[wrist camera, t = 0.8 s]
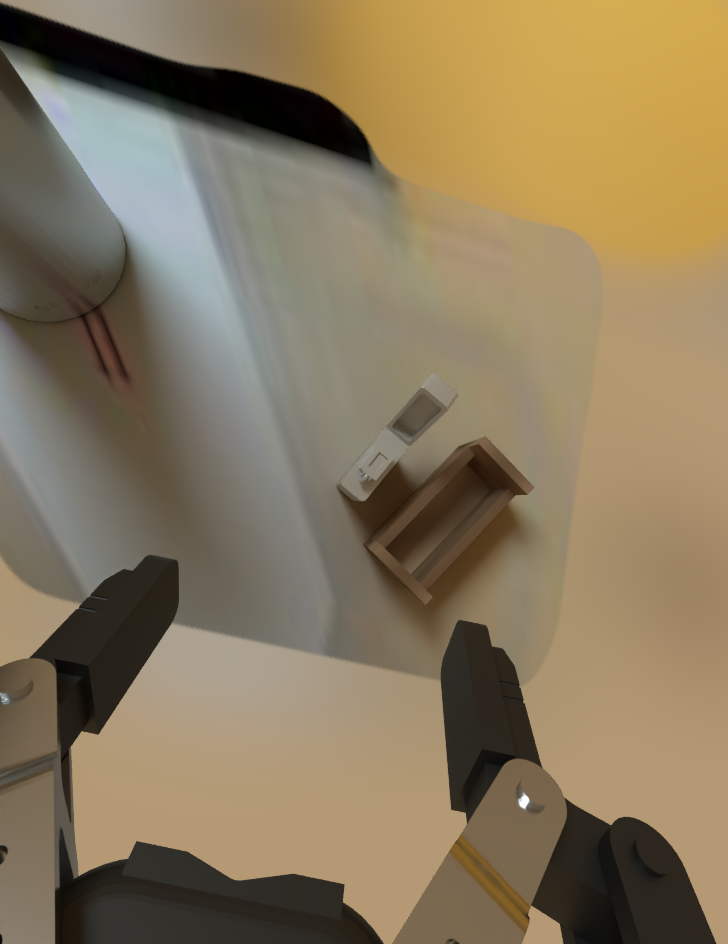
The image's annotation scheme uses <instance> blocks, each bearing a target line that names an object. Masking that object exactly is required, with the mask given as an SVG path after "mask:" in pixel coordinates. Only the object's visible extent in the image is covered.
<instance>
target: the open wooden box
mask: <svg viewBox="0 0 728 944" xmlns="http://www.w3.org/2000/svg"><path fill="white" fill-rule="evenodd" d="M533 488H534V486H533V485H532V484H531V483H530V482H529V481H528V480H527V479H526V478H525V477H524V476H523V475H522V474H521V473H520V472H519V471H518V470H517V469H516V468H515V467H514V466H513V465H512V463H511V462H510V461H509V460H508V459H507V458H506V457H505V456H504V455H503V454H502V453H501V452H500V451H499V450H498V449H497V448H496V447H495V446H494V445H493V444H492V443H491V442H490V441H489V440H488V439H487V438H486V437H483V438H480V439H478V440H475V441H472V442H469V443H467V444H464V445H461V446H459V447H458V448H457V449H456V450H455V451H454V452H453V453H452V454H451V455H450V456H449V457H448V458H447V459H446V460H445V461H444V462H443V463H442V464H441V465H440V466H439V467H438V468H437V469H436V470H435V471H434V472H433V473H432V474H431V476H430V477H429V478H428V479H427V480H426V481H425V482H424V483H423V484H422V485H421V486H420V487H419V488H418V489H417V490H416V491H415V492H414V493H413V494H412V495H411V496H410V497H409V498H408V499H407V500H406V501H405V502H404V503H403V504H402V505H401V506H400V507H399V508H398V509H397V510H396V511H395V512H394V513H393V514H392V515H391V516H390V517H389V519H388V520H387V521H386V522H385V523H384V524H383V525H382V526H381V527H380V528H379V529H378V530H377V531H376V532H375V533H374V534H373V535H372V536H371V537H370V538H369V539H368V540H367V541H366V542H365V543H364V545H365V546H366V547H367V548H368V549H369V550H370V551H371V552H372V553H373V554H374V555H375V556H376V557H377V558H378V559H379V560H380V561H381V563H382V564H383V565H384V566H385V567H386V568H387V569H388V570H389V571H390V572H391V573H392V574H393V575H394V576H395V577H396V578H397V579H398V580H399V581H400V582H401V583H402V584H403V585H404V586H405V587H406V588H407V589H408V590H409V591H411V592H412V593H413V594H414V595H415V596H416V597H417V598H418V599H419V600H420V601H422V602H423V603H424V604H425V605H426V604H427V603H428V602H429V601H430V600H431V599H432V596H431V595H430V594H429V593H428V592H427V590H428V588H429V587H430V586H431V585H432V584H433V583H434V582H435V581H436V580H437V579H438V578H439V577H440V576H441V574H442V573H443V572H444V571H445V570H446V569H447V568H448V567H449V566H450V565H451V564H452V563H453V562H454V561H455V559H456V558H457V557H458V556H459V555H460V554H461V553H462V552H463V551H464V550H465V549H466V548H467V547H468V546H469V544H470V543H471V542H472V541H473V540H474V539H475V538H476V537H477V536H478V535H479V534H480V533H481V532H482V530H483V529H484V528H485V527H486V526H487V525H488V524H489V523H490V522H491V521H492V520H493V519H494V518H495V517H496V515H497V514H498V513H499V512H500V511H501V510H502V509H503V508H504V507H505V506H506V505H507V504H508V503H509V501H510V500H511V499H512V498H513V497H514V496H515V495H528V494H529V493H530V492H531V491H532V490H533Z"/></svg>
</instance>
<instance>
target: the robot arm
mask: <svg viewBox="0 0 728 944" xmlns="http://www.w3.org/2000/svg"><path fill="white" fill-rule="evenodd" d="M125 251H126V247H125V241H124V236H123V232H122V230H121V227H120V225H119V223H118V220H117V218H116V217H115V216H114V214H113V213H112V211H111V210H110V208H109V207H108V205H107V204H106V202H105V201H104V199H103V198H102V196H101V195H100V193H99V192H98V191H97V189H96V188H95V186H94V185H93V183H92V182H91V180H90V179H89V177H88V176H87V174H86V173H85V171H84V170H83V168H82V166H81V165H80V163H79V162H78V161H77V159H76V158H75V156H74V155H73V153H72V152H71V150H70V149H69V147H68V146H67V145H66V143H65V142H64V140H63V139H62V137H61V136H60V134H59V133H58V131H57V130H56V128H55V127H54V126H53V124H52V123H51V121H50V120H49V118H48V117H47V115H46V114H45V112H44V111H43V109H42V108H41V107H40V105H39V104H38V102H37V101H36V99H35V98H34V96H33V95H32V93H31V92H30V91H29V89H28V88H27V86H26V85H25V83H24V82H23V80H22V79H21V77H20V76H19V74H18V73H17V72H16V70H15V69H14V67H13V66H12V64H11V63H10V61H9V60H8V58H7V57H6V56H5V54H4V53H3V51H2V50H1V48H0V308H1V309H2V310H4V311H5V312H7V313H9V314H12V315H15V316H17V317H20V318H23V319H27V320H33V321H39V322H54V321H62V320H67V319H71V318H75V317H77V316H80V315H82V314H84V313H87V312H89V311H91V310H92V309H93V308H95V307H96V306H98V305H99V304H100V303H102V302H103V301H104V300H105V299H106V298H107V297H108V296H109V294H110V293H111V292H112V291H113V290H114V288H115V286H116V285H117V283H118V281H119V279H120V277H121V274H122V271H123V268H124V264H125ZM178 603H179V567H178V562H177V560H173V559H168V558H164V557H159V556H154V555H148V556H146V557H145V558H144V559H143V560H142V561H141V562H140V564H139V565H138V566H137V567H136V568H135V569H134V570H133V571H131V570H126V569H123V570H121V571H120V572H118V573H116V574H114V575H113V576H111V577H109V578H107V579H105V580H104V581H103V582H102V583H101V584H100V585H99V586H98V587H97V588H96V589H95V590H94V592H93V593H92V594H91V596H90V597H88V598H87V599H86V600H85V601H84V602H83V603H82V604H81V605H80V606H79V609H76V610H75V611H74V612H73V613H72V614H71V615H70V616H69V618H68V619H67V620H66V621H65V622H64V623H63V624H62V625H61V626H60V627H59V628H58V629H57V630H56V631H55V632H54V633H53V634H52V635H51V636H50V637H49V638H48V639H47V641H46V642H45V643H44V644H43V645H42V646H41V647H40V648H39V649H38V650H37V651H36V652H35V653H34V654H33V655H32V656H31V657H30V658H29V659H22V660H18V661H14V662H11V663H8V664H6V665H4V666H2V667H0V944H383V942H382V940H381V939H380V938H379V936H378V935H377V933H376V932H375V931H374V929H373V928H372V927H371V926H370V925H369V924H368V923H367V921H366V920H365V919H364V918H363V917H362V916H361V915H359V914H358V913H357V912H356V911H354V910H353V909H352V908H351V907H349V906H348V905H346V904H345V903H343V893H344V884H340V883H335V882H330V881H326V880H321V879H316V878H311V877H306V876H301V875H297V874H288V875H280V876H273V877H265V878H257V879H250V880H242V881H237V880H233V879H231V878H229V877H228V876H226V875H224V874H222V873H221V872H219V871H218V870H216V869H215V868H213V867H211V866H210V865H208V864H206V863H205V862H203V861H202V860H200V859H198V858H197V857H195V856H193V855H192V854H190V853H189V852H186V851H181V850H176V849H171V848H167V847H162V846H157V845H152V844H147V843H142V842H136V844H135V846H134V848H133V850H132V852H131V854H130V856H129V858H128V859H123V860H118V861H115V862H111V863H108V864H104V865H102V866H99V867H97V868H94V869H92V870H90V871H88V872H86V873H84V874H82V875H80V876H78V862H77V853H76V844H75V833H74V811H73V788H72V787H73V786H72V760H71V748H70V747H71V745H72V744H73V743H74V741H75V739H76V738H77V737H78V735H79V734H80V733H81V731H84V732H88V733H93V734H99V733H100V731H101V730H102V728H103V727H104V725H105V723H106V722H107V720H108V719H109V718H110V716H111V714H112V713H113V711H114V710H115V708H116V707H117V705H118V704H119V702H120V701H121V699H122V698H123V696H124V695H125V693H126V692H127V690H128V689H129V687H130V686H131V684H132V683H133V681H134V679H135V678H136V676H137V675H138V673H139V672H140V670H141V669H142V667H143V666H144V664H145V663H146V661H147V660H148V658H149V657H150V655H151V654H152V652H153V651H154V649H155V648H156V646H157V644H158V643H159V642H160V640H161V639H162V637H163V635H164V634H165V632H166V631H167V629H168V628H169V626H170V625H171V623H172V621H173V619H174V617H175V615H176V612H177V608H178ZM519 685H520V684H519V681H518V677H517V673H516V669H515V666H514V664H513V663H512V662H511V660H510V659H509V657H508V656H507V654H506V653H505V651H504V650H503V649H502V648H497V647H492V645H491V641H490V636H489V632H488V628H487V626H486V625H482V624H477V623H472V622H467V621H463V620H459V621H458V622H457V623H456V626H455V628H454V631H453V634H452V636H451V639H450V642H449V644H448V647H447V649H446V652H445V655H444V658H443V662H442V667H441V689H442V701H443V713H444V726H445V738H446V750H447V762H448V775H449V787H450V800H451V809H452V810H455V811H460V812H465V813H466V818H467V825H466V827H465V829H464V830H463V832H462V833H461V835H460V837H459V838H458V840H457V841H456V842H455V843H454V845H453V847H452V848H451V849H450V851H449V853H448V854H447V856H446V858H445V859H444V861H443V862H442V864H441V866H440V867H439V869H438V871H437V872H436V874H435V875H434V877H433V879H432V880H431V882H430V884H429V885H428V887H427V888H426V890H425V892H424V893H423V895H422V897H421V898H420V900H419V901H418V903H417V905H416V906H415V908H414V909H413V911H412V913H411V914H410V916H409V917H408V919H407V921H406V923H405V924H404V926H403V927H402V929H401V930H400V932H399V934H398V935H397V937H396V938H395V940H394V942H393V943H392V944H522V941H523V939H524V936H525V933H526V931H527V928H528V925H529V919H530V918H529V916H528V912H529V909H530V906H531V905H532V906H533V907H535V908H536V909H538V910H540V911H541V912H543V913H544V914H546V915H547V916H549V917H550V918H552V919H553V920H555V921H557V922H558V923H560V927H561V932H562V938H563V943H564V944H716V942H715V939H714V937H713V935H712V932H711V930H710V928H709V925H708V923H707V920H706V918H705V915H704V913H703V911H702V908H701V906H700V904H699V901H698V899H697V896H696V894H695V892H694V889H693V887H692V884H691V882H690V879H689V877H688V875H687V872H686V870H685V868H684V866H683V863H682V861H681V860H680V858H679V856H678V855H677V853H676V852H675V851H674V849H673V848H672V846H671V845H670V844H669V843H668V842H667V840H666V839H664V837H663V836H662V835H661V834H660V833H658V832H657V831H656V830H654V828H652V827H650V826H649V825H648V824H646V823H644V822H642V821H640V820H638V819H635V818H631V817H622V818H618V819H617V820H616V821H615V822H614V823H613V824H612V825H609V824H608V823H605V822H604V821H602V820H600V819H598V818H597V817H595V816H593V815H591V814H589V813H587V812H586V811H584V810H582V809H580V808H579V807H577V806H575V805H574V804H572V803H571V802H569V801H568V800H567V799H566V798H564V796H563V794H562V791H561V790H560V788H559V786H558V785H557V783H556V782H555V780H554V779H553V778H552V777H551V776H550V775H549V774H548V773H547V772H546V771H545V770H544V769H543V768H542V765H541V762H540V759H539V755H538V751H537V748H536V744H535V740H534V737H533V733H532V729H531V726H530V722H529V718H528V714H527V710H526V707H525V704H524V703H523V696H522V692H521V688H519Z"/></svg>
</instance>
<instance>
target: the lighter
mask: <svg viewBox="0 0 728 944" xmlns="http://www.w3.org/2000/svg"><path fill="white" fill-rule="evenodd" d="M457 396H458V394H457V391H456V390H455V389H453V388H452V387H451V386H450V385H449V384H448V383H446V382H445V381H444V380H443V379H442V378H441V377H439V376H438V375H437V374H431V375H430V376H429V377H428V379H427V380H426V381H425V382H424V383H423V384H422V385H421V387H420V388H419V389H418V390H417V391H416V392H415V393H414V394H413V396H412V397H411V398H410V399H409V400H408V401H407V402H406V404H405V405H404V406H403V407H402V408H401V409H400V410H399V412H398V413H397V414H396V415H395V416H394V418H393V419H392V420H391V421H390V423H389V424H388V425H387V427H388V429H384V430H383V431H382V432H381V433H380V434H379V435H378V436H377V437H376V438H375V439H374V440H373V441H372V442H371V443H370V445H369V446H368V447H367V448H366V449H365V451H364V452H363V453H362V454H361V455H360V457H359V458H358V459H357V460H356V461H355V463H354V464H353V465H352V466H351V467H350V469H349V470H348V471H347V472H346V473H345V475H344V476H343V477H342V478H341V479H340V481H339V482H338V483H337V488H338V489H339V490H340V491H342V492H343V493H344V494H345V495H346V496H348V497H349V498H350V499H351V500H353V501H366V499H367V498H368V497H369V496H370V494H371V493H372V492H373V491H374V489H375V488H376V487H377V486H378V485H379V483H380V482H381V481H382V480H383V478H384V477H385V476H386V475H387V473H388V472H389V471H390V470H391V469H392V467H393V466H394V465H395V464H396V462H397V461H398V460H399V459H400V457H401V456H402V455H403V454H404V453H405V451H406V450H407V445H412V444H413V443H414V442H415V441H416V440H417V439H418V438H419V437H420V436H421V435H422V434H423V433H424V432H425V431H427V430H428V429H429V428H430V427H431V426H432V425H433V424H434V423H435V422H436V421H437V420H438V419H439V418H440V417H441V416H442V415H443V414H445V413H446V412H447V411H448V409H449V408H450V406H451V405H452V403H453V402H454V401H455V399H456V398H457Z"/></svg>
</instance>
